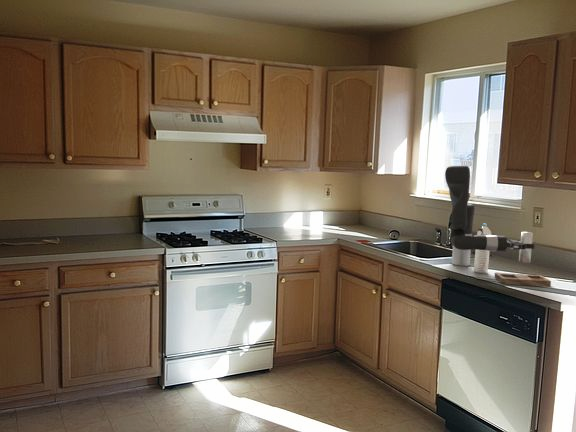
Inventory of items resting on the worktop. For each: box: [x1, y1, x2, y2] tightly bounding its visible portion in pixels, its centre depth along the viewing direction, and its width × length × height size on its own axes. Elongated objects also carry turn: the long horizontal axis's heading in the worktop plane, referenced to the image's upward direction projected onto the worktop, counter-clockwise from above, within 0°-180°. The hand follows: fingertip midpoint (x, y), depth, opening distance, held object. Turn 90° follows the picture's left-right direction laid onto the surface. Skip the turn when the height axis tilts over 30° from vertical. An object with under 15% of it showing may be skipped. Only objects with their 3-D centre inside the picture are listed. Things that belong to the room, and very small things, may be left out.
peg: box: [518, 231, 534, 264], centre depth 261 cm, size 5×5×14 cm
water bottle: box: [473, 223, 492, 275], centre depth 280 cm, size 7×7×25 cm
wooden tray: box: [494, 272, 552, 287], centre depth 263 cm, size 12×22×3 cm, turn 85°
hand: (531, 245), depth 260 cm, fingers closed on peg, 5 cm apart
